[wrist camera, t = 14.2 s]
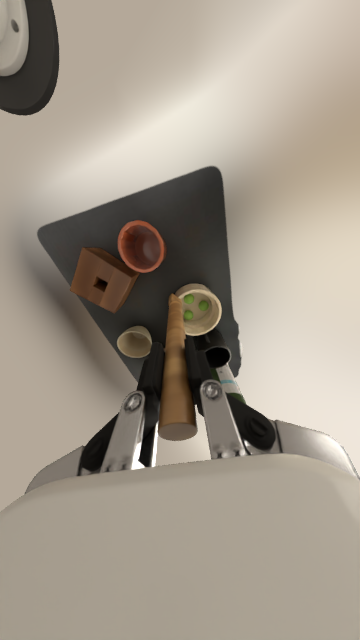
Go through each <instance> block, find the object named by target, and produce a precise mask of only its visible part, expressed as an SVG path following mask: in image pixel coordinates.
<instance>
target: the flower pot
mask: <svg viewBox="0 0 360 640" xmlns="http://www.w3.org/2000/svg"><path fill="white" fill-rule="evenodd" d="M141 335H142V336H141ZM151 345H152V339H151V336H150V333H149V332H148V330H147V329H146V328H145V327H143V326H134V327H131V328H129V329H127V330H126V331H124V332H123V333H122V334H121V335H120V336H119V338H118V340H117V346H118V348H119V350H120V351H121V352H122V353H123V354H125V355H127V356H129V357H133V358H140V357H144V356H146V355H148V354H149V353H150V349H151Z"/></svg>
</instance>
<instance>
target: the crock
mask: <svg viewBox="0 0 360 640" xmlns="http://www.w3.org/2000/svg"><path fill="white" fill-rule="evenodd" d="M118 250H119V253H120V255H121V258H122V259H123V261H124V262H125V263H126V264H127V266H129V267H130V268H132V269H133V270H135V271H138V272H142V273H146V272H151V271H153V270H154V269H156V268H157V267H158V266H159V265H160V264H161V263H162V262H163V261H164V259H165V257H166V253H167V247H166V243H165V240H164V239H163V237H162V235H161V234H160V233H159V232H158V231H157V230H156V229H155V228H154V227H153V226H151V225H150V224H149V223H147V222H143V221H139V220H136V221H132V222H128V223H127V224H126V225H125V226H124V227H123V228H122V229H121V231H120V234H119V236H118Z"/></svg>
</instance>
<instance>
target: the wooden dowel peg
mask: <svg viewBox="0 0 360 640" xmlns="http://www.w3.org/2000/svg"><path fill="white" fill-rule="evenodd" d="M168 306H169V314H168V324H167V335H166V346H165V357H164V368H163V378H162V389H161V400H160V411H159V421H158V435H159V436H160V437H161V438H163V439H166V440H172V441H181V440H186V439H189V438H191V437H193V436H195V435H196V434H197V431H198V428H197V420H196V412H195V404H194V397H193V393H192V392H191V388H190V384H189V379H188V371H187V362H186V353H185V344H184V339H186V336H185V328H184V320H183V313H182V308H183V307H182V300H181V299H180V298H178V297H177V296H175V295H174V294H173V293H172V294H171V295H170V297H169V302H168Z"/></svg>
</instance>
